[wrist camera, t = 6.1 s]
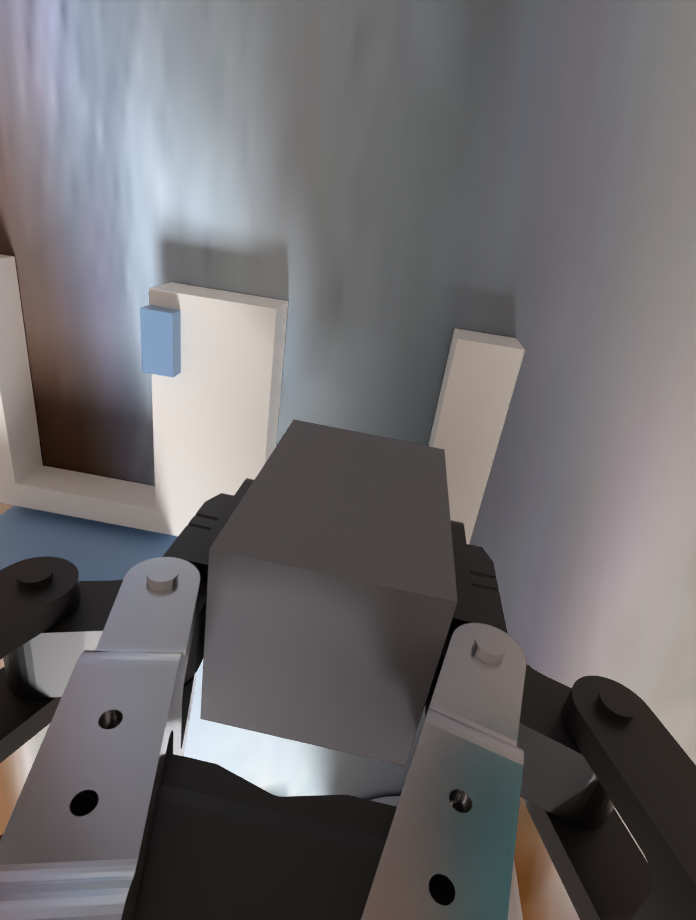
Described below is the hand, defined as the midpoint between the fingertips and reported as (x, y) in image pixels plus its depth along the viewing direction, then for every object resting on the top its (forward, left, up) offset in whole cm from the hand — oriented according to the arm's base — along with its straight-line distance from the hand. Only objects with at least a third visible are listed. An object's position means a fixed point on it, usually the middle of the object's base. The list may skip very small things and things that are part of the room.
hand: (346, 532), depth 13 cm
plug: (0, 0, -2) cm, 2 cm away
